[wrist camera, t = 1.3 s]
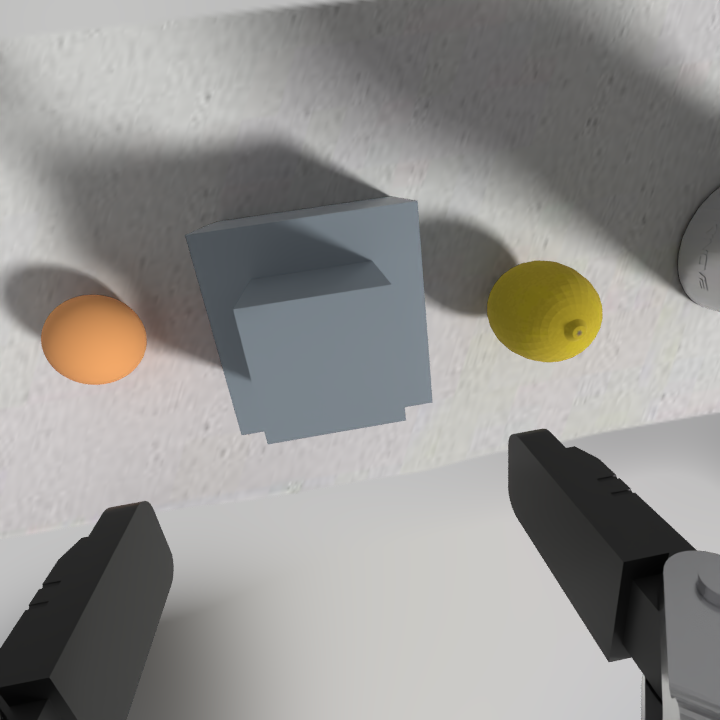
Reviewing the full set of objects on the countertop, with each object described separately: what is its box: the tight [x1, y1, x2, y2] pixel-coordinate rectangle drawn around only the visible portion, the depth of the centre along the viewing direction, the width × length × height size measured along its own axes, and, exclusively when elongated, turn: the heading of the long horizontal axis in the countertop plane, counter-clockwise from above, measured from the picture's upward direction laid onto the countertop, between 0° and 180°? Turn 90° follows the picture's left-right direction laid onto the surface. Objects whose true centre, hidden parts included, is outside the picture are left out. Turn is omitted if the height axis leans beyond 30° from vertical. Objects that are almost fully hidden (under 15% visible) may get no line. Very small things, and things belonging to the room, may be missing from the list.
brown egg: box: [41, 295, 147, 385], centre depth 24 cm, size 5×5×5 cm
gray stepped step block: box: [185, 196, 432, 444], centre depth 22 cm, size 10×10×12 cm
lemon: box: [487, 261, 602, 362], centre depth 25 cm, size 6×6×8 cm
